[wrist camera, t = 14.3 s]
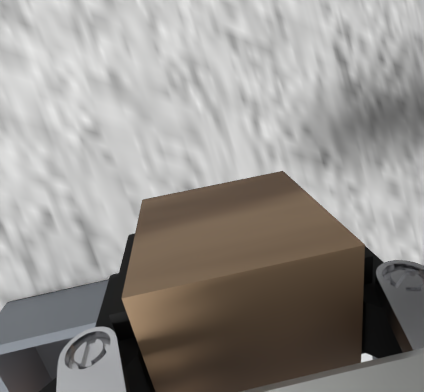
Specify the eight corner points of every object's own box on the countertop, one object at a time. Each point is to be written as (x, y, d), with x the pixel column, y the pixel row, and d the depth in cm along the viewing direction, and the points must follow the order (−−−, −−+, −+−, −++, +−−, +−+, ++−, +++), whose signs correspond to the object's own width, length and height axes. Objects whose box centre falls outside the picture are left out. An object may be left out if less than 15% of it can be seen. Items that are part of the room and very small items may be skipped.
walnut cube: (142, 199, 11) (121, 298, 6) (282, 171, 11) (365, 245, 6) (173, 310, 13) (176, 448, 8) (292, 283, 13) (360, 402, 8)
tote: (67, 418, 31) (49, 477, 26) (7, 302, 26) (-29, 351, 21) (257, 370, 32) (272, 419, 27) (237, 250, 27) (251, 286, 22)
